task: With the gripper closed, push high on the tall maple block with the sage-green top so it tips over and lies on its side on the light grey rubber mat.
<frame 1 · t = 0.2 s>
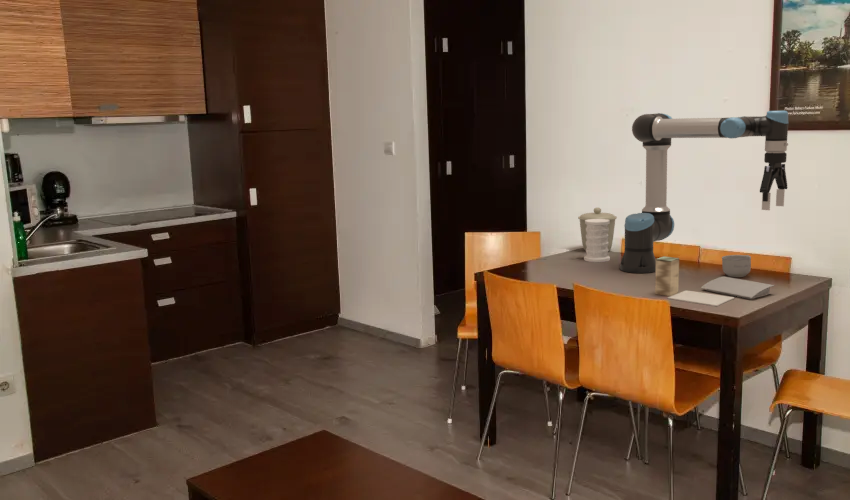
hand: (772, 208, 286), 28 cm above the table, fingers open, 13 cm apart
book: (737, 294, 273), on the table
teacup: (738, 276, 299), on the table
maple block: (666, 293, 274), on the table
canister: (597, 251, 362), on the table
decorative container: (597, 260, 341), on the table
grey mat: (700, 298, 265), on the table
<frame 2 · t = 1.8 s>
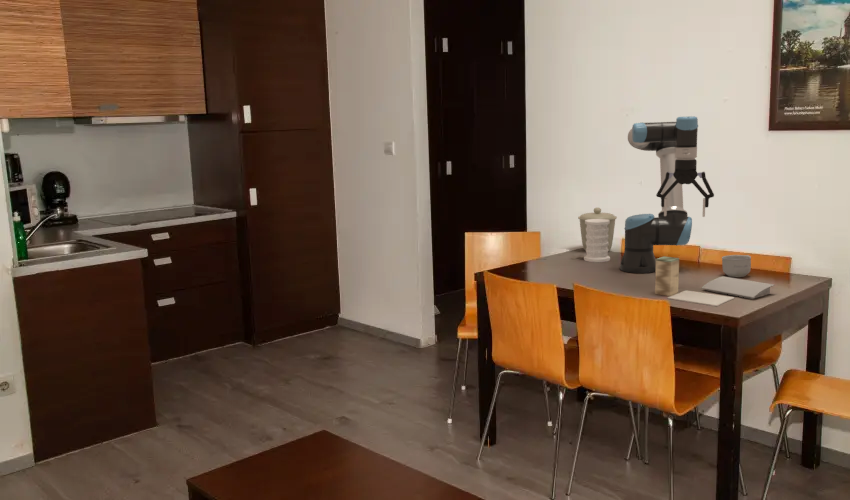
hand: (684, 216, 280), 27 cm above the table, fingers open, 13 cm apart
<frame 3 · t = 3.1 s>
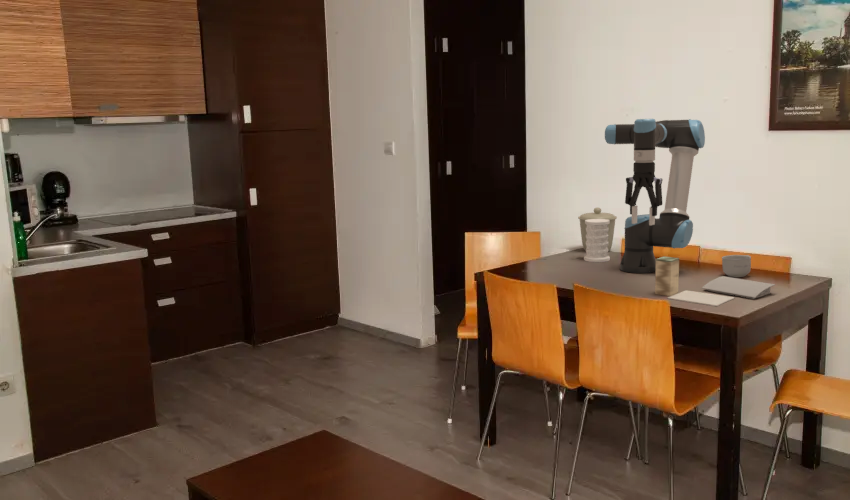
hand: (643, 223, 277), 25 cm above the table, fingers open, 6 cm apart
nothing on the table moved.
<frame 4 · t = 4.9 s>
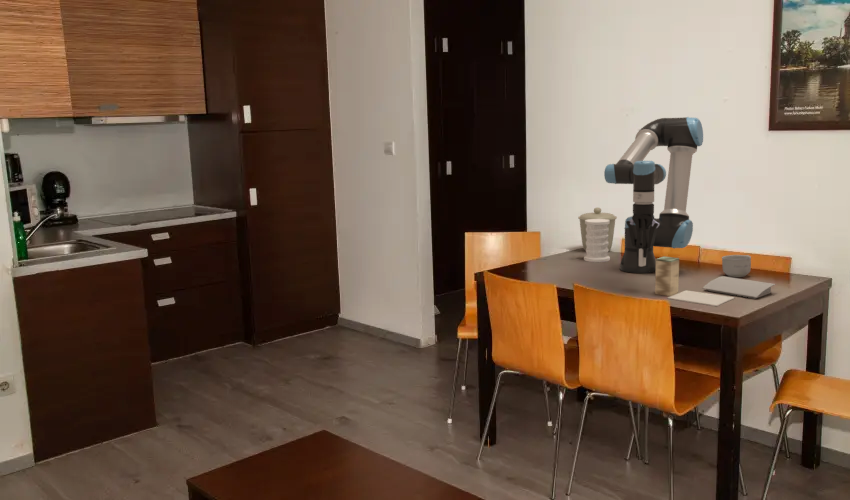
hand: (642, 265, 280), 9 cm above the table, fingers closed
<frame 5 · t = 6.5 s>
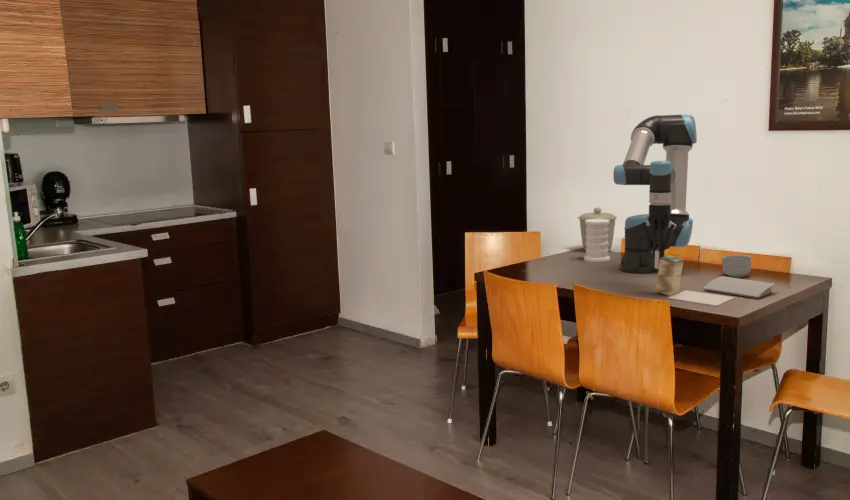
hand: (658, 267, 275), 9 cm above the table, fingers closed
maple block: (666, 292, 274), on the table, tilted 8°
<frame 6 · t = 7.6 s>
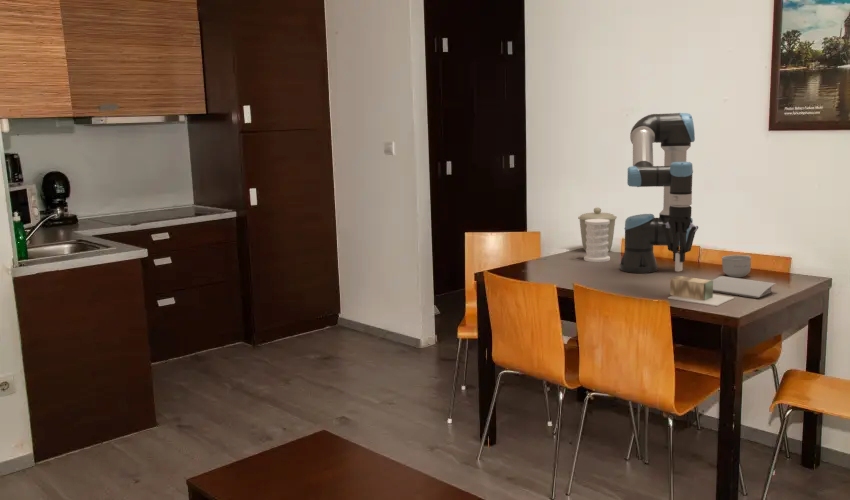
hand: (678, 270, 269), 9 cm above the table, fingers closed
maple block: (674, 285, 272), point 3 cm above the table, tilted 90°, touching grey mat
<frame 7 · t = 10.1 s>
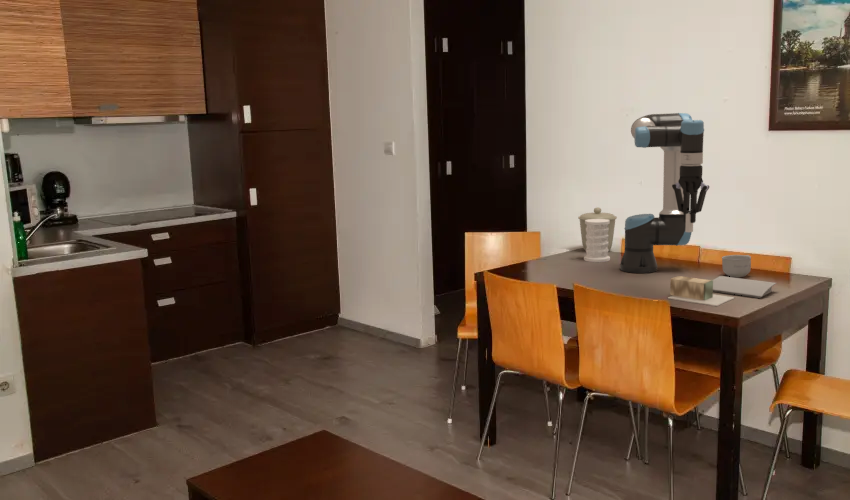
hand: (689, 231, 265), 24 cm above the table, fingers closed
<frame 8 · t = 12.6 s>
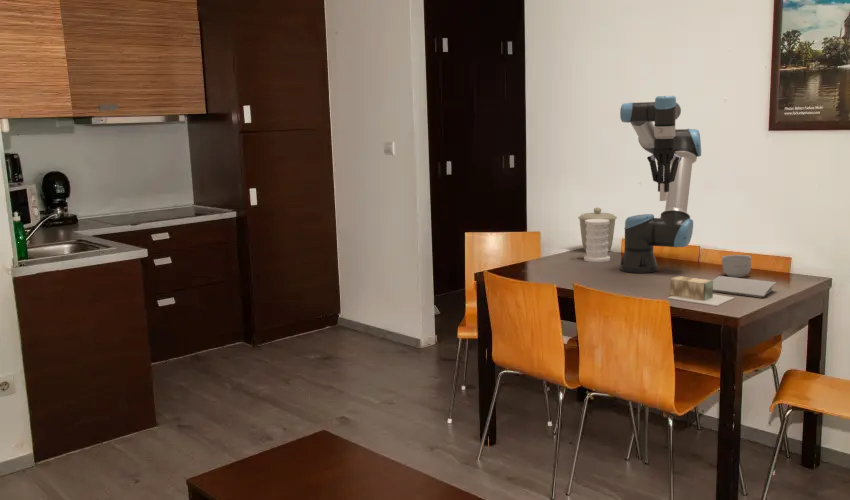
hand: (663, 200, 284), 32 cm above the table, fingers closed
at the end: maple block tilted 90°; maple block inside the target area (4.1 cm from its centre), point 3.4 cm above the table; the gripper is holding nothing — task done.
